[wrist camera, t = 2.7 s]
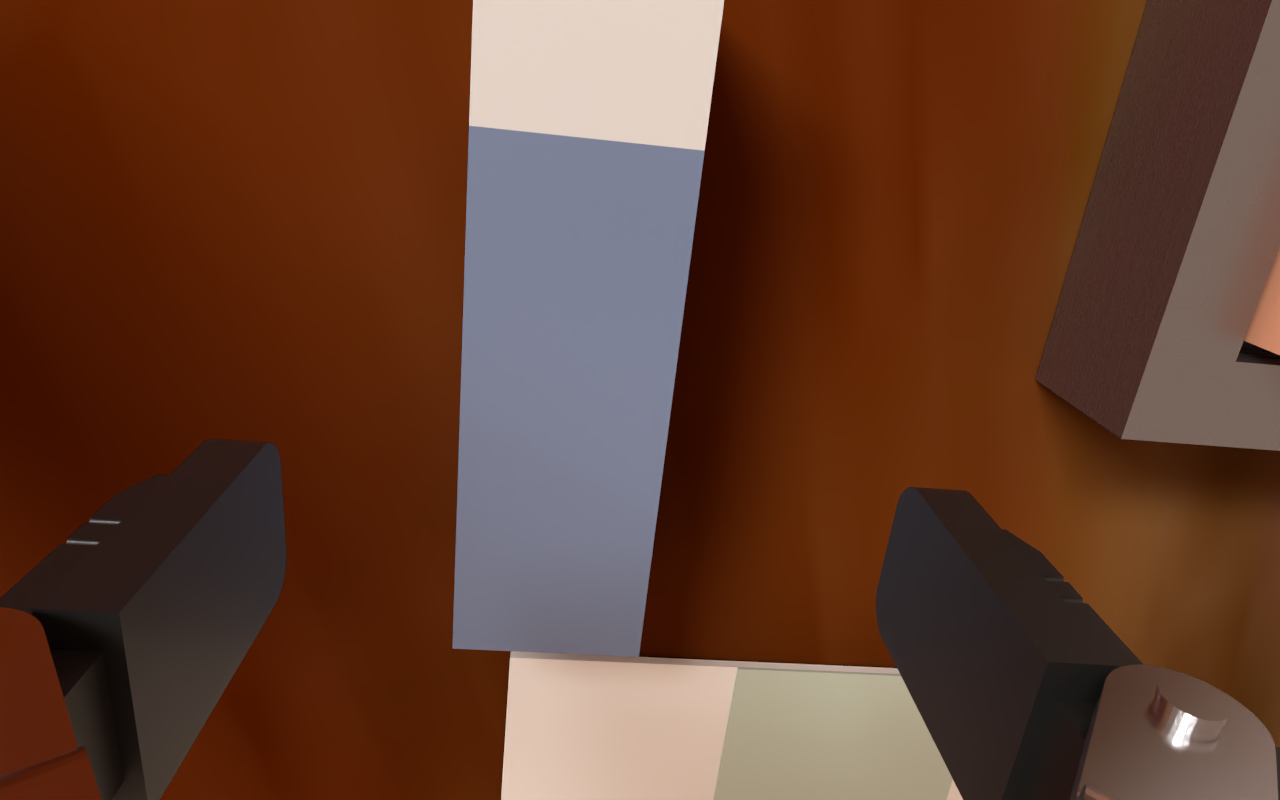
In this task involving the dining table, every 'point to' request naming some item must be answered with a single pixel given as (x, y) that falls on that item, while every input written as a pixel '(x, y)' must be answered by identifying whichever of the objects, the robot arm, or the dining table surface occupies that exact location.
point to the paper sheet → (713, 731)
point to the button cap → (1267, 314)
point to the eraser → (573, 310)
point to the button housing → (1180, 237)
